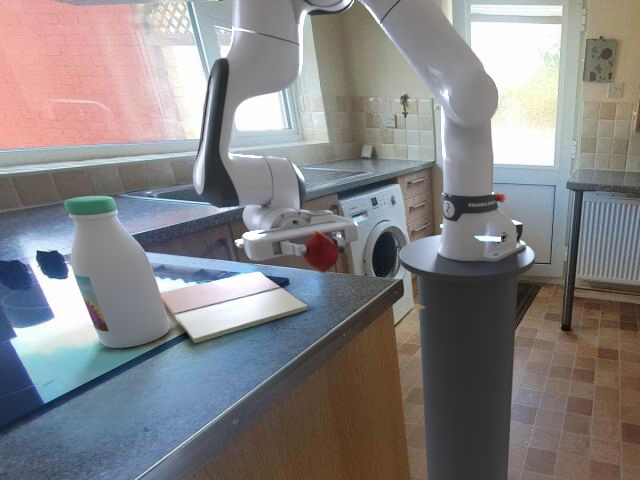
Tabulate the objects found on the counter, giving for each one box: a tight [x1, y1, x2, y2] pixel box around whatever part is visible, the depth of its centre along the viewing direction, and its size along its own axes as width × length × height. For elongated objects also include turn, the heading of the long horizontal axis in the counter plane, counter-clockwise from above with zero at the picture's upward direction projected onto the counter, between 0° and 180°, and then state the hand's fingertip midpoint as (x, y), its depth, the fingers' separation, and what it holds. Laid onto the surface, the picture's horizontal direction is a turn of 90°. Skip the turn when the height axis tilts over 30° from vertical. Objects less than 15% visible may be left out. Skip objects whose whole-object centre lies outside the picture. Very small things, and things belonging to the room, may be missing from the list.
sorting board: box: [160, 271, 309, 344], centre depth 70 cm, size 16×22×1 cm
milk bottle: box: [63, 195, 171, 349], centre depth 56 cm, size 8×8×20 cm
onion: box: [303, 230, 340, 273], centre depth 74 cm, size 6×6×8 cm
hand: (322, 247), depth 73 cm, fingers closed on onion, 5 cm apart
